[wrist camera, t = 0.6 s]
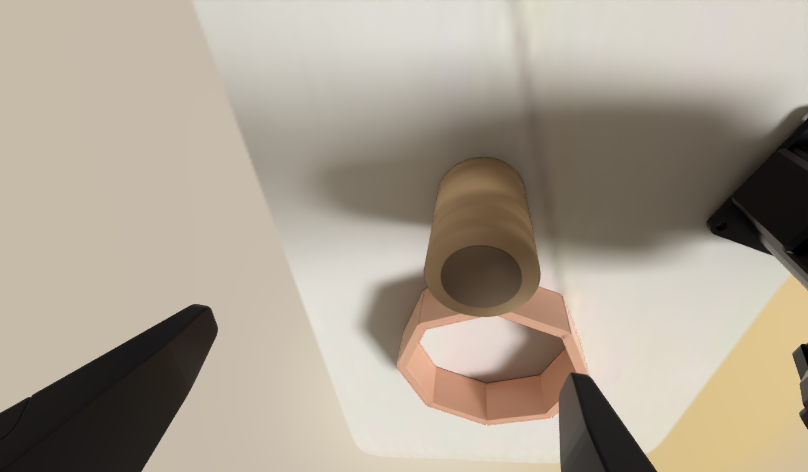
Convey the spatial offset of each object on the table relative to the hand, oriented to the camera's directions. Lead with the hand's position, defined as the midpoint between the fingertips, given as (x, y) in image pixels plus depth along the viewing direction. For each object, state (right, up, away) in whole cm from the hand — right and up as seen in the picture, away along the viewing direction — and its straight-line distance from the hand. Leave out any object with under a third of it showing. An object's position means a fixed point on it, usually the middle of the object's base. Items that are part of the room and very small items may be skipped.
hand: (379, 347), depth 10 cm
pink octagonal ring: (+7, -4, +18) cm, 19 cm away
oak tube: (+5, +5, +11) cm, 13 cm away
